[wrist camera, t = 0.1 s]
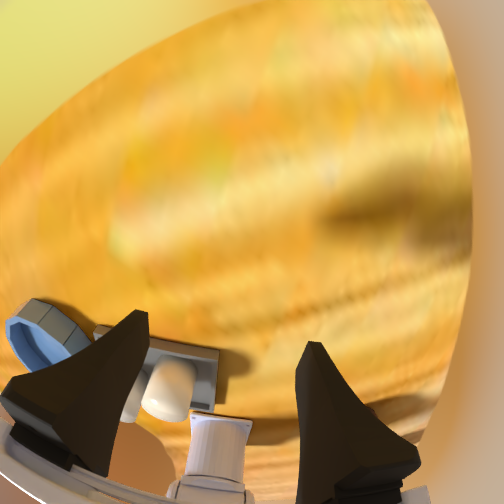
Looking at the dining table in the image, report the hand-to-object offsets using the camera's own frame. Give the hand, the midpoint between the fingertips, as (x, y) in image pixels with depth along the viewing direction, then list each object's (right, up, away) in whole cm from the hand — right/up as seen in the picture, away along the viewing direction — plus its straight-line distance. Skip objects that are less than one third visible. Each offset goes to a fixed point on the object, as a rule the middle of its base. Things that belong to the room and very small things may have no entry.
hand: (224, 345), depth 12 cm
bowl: (-23, -8, +16) cm, 29 cm away
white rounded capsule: (-7, -8, +15) cm, 18 cm away
